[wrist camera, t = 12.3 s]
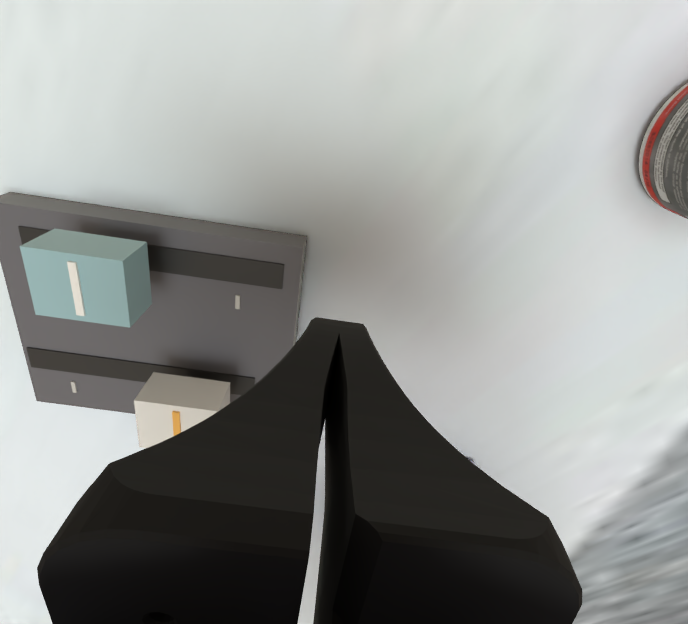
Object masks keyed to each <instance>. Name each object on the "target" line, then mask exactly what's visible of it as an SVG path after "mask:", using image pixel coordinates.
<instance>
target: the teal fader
mask: <svg viewBox="0 0 688 624" xmlns="http://www.w3.org/2000/svg"><path fill="white" fill-rule="evenodd" d="M20 250H21V254H22V258H23V263H24V267H25V271H26V276H27V280H28V284H29V288H30V293H31V297H32V301H33V306H34V310H35V314H36V315H42V316H49V317H56V318H64V319H71V320H78V321H85V322H93V323H100V324H107V325H114V326H122V327H129V328H130V327H131V326H132V325H133V324H134V323H135V322H136V321H137V320H138V319H139V317H140V316H141V315H142V314H143V313H144V312H145V311H146V310H147V309H148V308H149V306H150V305H151V304H152V297H151V285H150V273H149V260H148V248H147V242H144V241H137V240H130V239H124V238H117V237H110V236H103V235H96V234H89V233H82V232H76V231H69V230H62V229H53V230H51V231H49V232H47V233H45V234H43V235H41V236H39V237H37V238H35V239H33V240H31V241H29V242H27V243H25V244H23V245H21V246H20Z"/></svg>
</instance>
